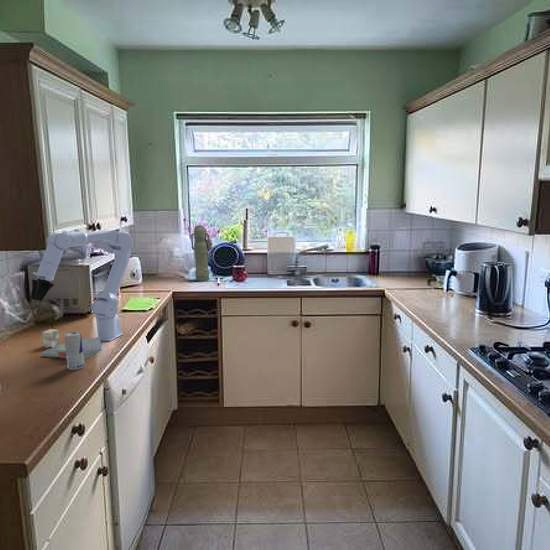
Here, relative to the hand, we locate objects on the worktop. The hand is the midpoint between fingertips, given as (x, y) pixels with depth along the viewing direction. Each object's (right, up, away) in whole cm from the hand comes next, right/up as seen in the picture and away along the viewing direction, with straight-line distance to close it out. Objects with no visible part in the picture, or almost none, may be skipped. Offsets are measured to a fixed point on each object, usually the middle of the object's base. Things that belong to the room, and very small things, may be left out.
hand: (35, 300), depth 172 cm
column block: (-2, -19, +17) cm, 25 cm away
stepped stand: (+10, -20, +8) cm, 24 cm away
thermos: (+38, +6, +143) cm, 148 cm away
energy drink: (+17, -23, -7) cm, 29 cm away
